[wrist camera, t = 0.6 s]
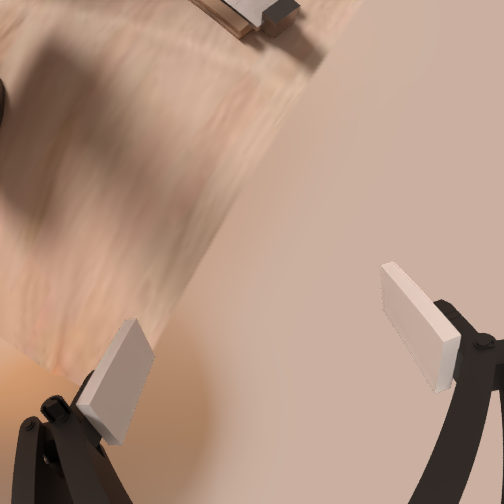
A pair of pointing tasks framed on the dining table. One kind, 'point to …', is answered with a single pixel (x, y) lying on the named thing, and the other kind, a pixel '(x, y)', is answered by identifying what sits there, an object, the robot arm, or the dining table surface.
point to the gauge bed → (224, 16)
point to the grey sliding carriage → (266, 14)
